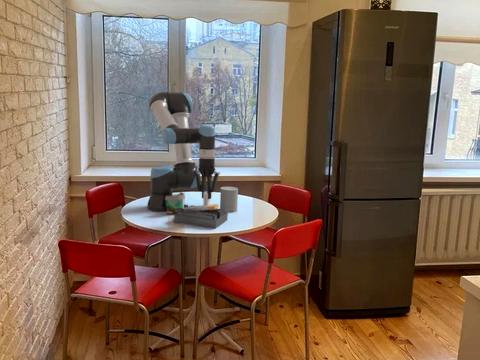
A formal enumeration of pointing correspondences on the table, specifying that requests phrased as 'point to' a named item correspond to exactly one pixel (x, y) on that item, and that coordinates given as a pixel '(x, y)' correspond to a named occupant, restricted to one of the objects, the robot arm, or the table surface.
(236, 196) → the concrete plant pot
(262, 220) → the table surface
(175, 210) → the food container
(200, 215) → the grey metal tray
